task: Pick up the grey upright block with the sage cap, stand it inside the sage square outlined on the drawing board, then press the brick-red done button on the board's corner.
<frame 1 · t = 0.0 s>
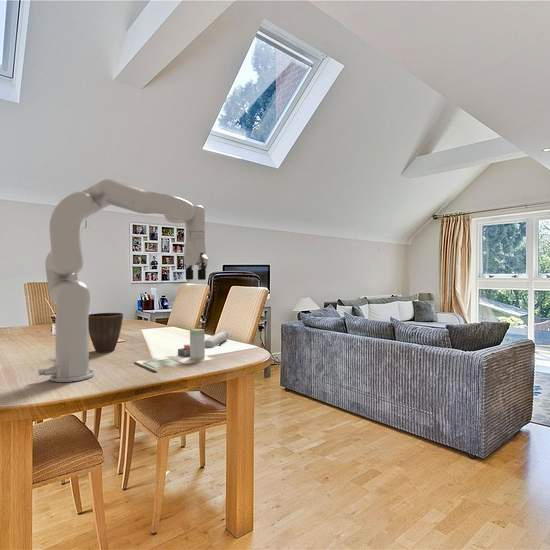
hand: (195, 279, 155), 31 cm above the table, tool pointing down, fingers open, 9 cm apart
drawing board: (175, 363, 146), on the table
tube: (215, 345, 183), on the table
plant pot: (105, 351, 169), on the table
grey upright block: (197, 358, 148), point 1 cm above the table, touching drawing board
done button: (188, 348, 155), point 4 cm above the table, slide at 0.0 cm
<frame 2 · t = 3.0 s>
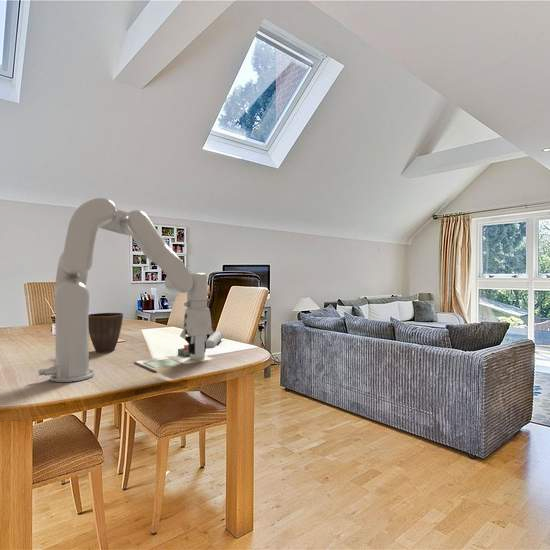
hand: (197, 352, 148), 3 cm above the table, tool pointing down, fingers closed on grey upright block, 3 cm apart
grey upright block: (197, 358, 148), point 1 cm above the table, touching gripper
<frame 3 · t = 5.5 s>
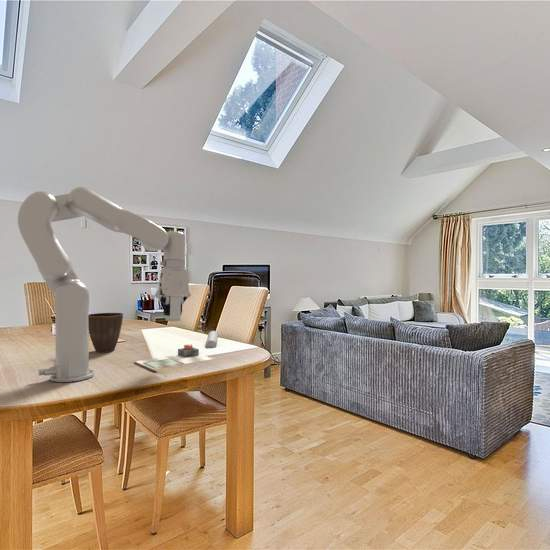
hand: (172, 314, 142), 19 cm above the table, tool pointing down, fingers closed on grey upright block, 4 cm apart
grey upright block: (172, 320, 142), point 16 cm above the table, touching gripper
when the fingers open (5 cm above the table, at t = 8.0 s): grey upright block drops 1 cm, resting on drawing board.
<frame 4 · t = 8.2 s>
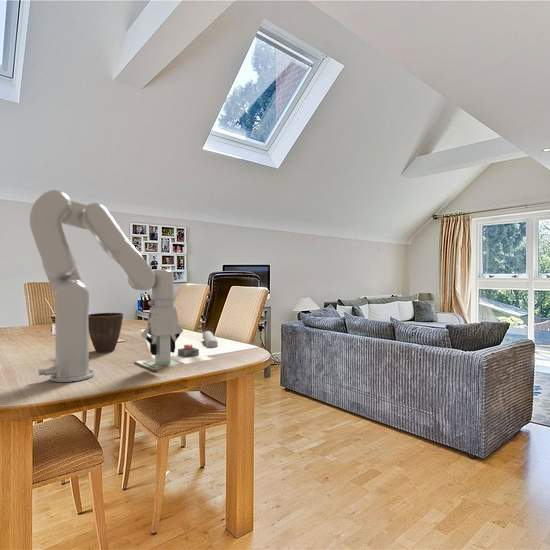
hand: (162, 352, 140), 5 cm above the table, tool pointing down, fingers open, 6 cm apart
grey upright block: (162, 363, 140), point 1 cm above the table, touching drawing board
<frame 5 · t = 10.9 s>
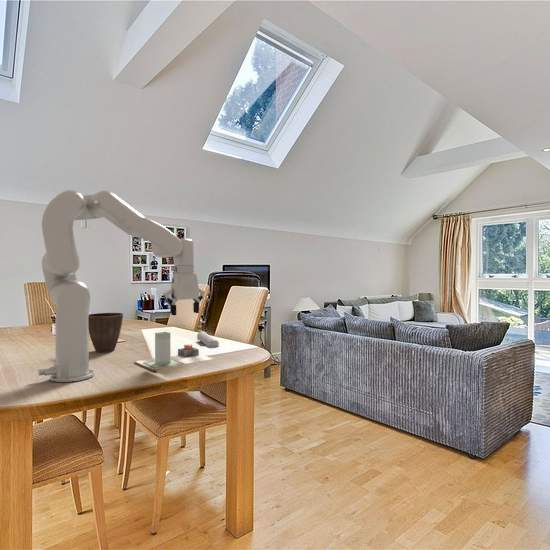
hand: (185, 313, 152), 18 cm above the table, tool pointing down, fingers open, 9 cm apart
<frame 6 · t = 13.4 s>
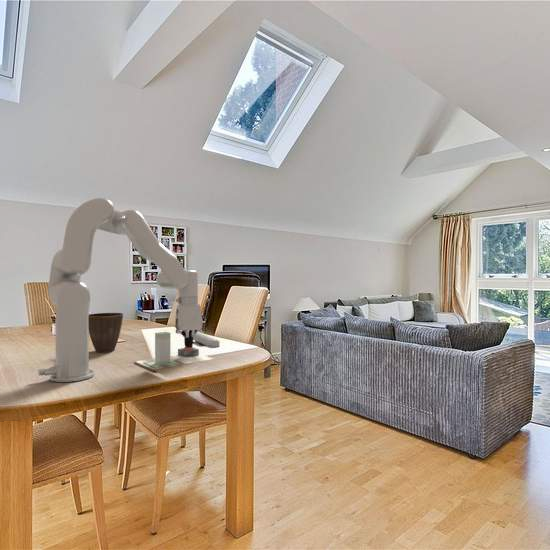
hand: (188, 346, 155), 4 cm above the table, tool pointing down, fingers closed
done button: (188, 350, 155), point 3 cm above the table, slide at 0.7 cm, touching gripper
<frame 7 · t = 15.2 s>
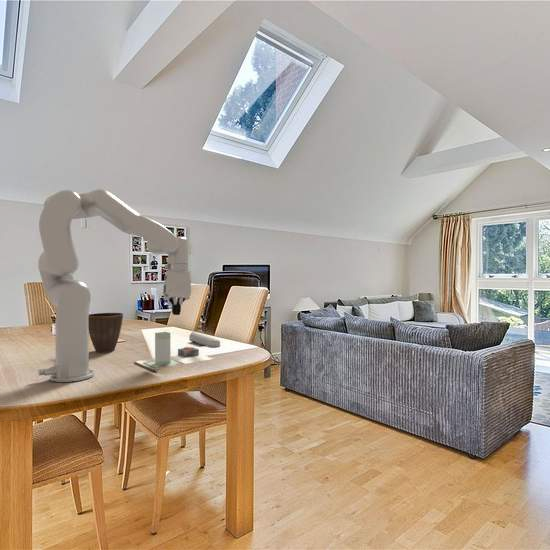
hand: (176, 314, 153), 17 cm above the table, tool pointing down, fingers closed
done button: (188, 350, 155), point 3 cm above the table, slide at 0.9 cm
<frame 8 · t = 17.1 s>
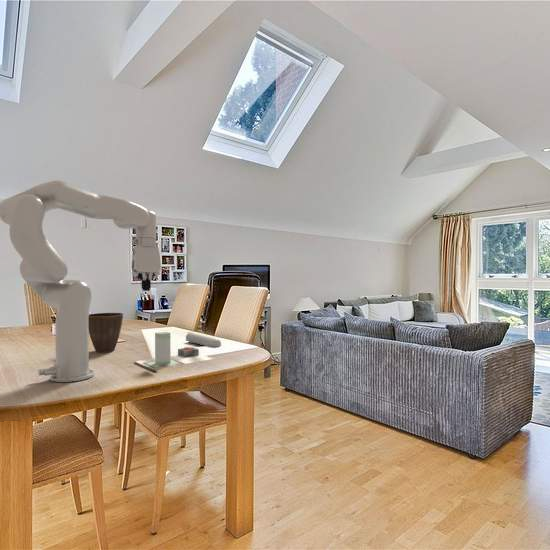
hand: (146, 290, 150), 27 cm above the table, tool pointing down, fingers closed
at the end: grey upright block inside the target area (0.0 cm from its centre), point 1.2 cm above the table; grey upright block tilted 0°; done button slide at 0.9 cm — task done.
